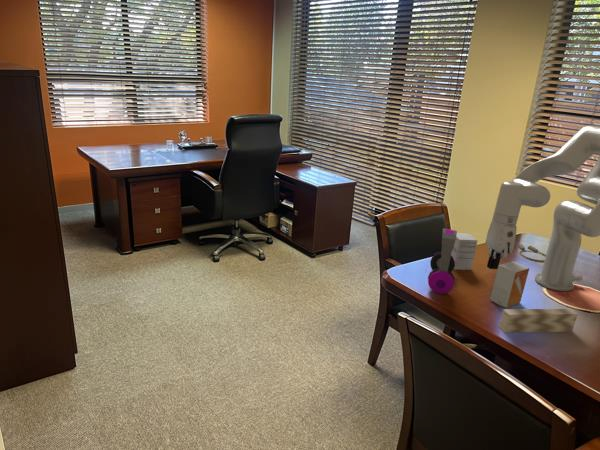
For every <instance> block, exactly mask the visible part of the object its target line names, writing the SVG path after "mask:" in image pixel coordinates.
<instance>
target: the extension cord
mask: <svg viewBox="0 0 600 450" xmlns="http://www.w3.org/2000/svg"><path fill="white" fill-rule="evenodd" d="M518 248H519V249H520V251H518V252H519V255H520V256H522V257H523V258H525V259H526V260H528V261H529V260H530V261H534V262H538V261H539V262H540V263H544V261H545V259H536V258H531V257H529V256H526V255H524V254H522V252H527V250H526V249H525V246H524V245H523V244H521V243H519V244H518ZM527 249H528V252H529V253H534V254H538V253H539V254H538V255H541V254H542V256H544V255H545V256H544V257H546V253H543V252H540V251H539V250H538V249H537V248H536V247H534V246H533V245H528V247H527Z"/></svg>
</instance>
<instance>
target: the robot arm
mask: <svg viewBox="0 0 600 450" xmlns="http://www.w3.org/2000/svg"><path fill="white" fill-rule="evenodd" d="M594 154H598V159H597V160H596V163H595V164H594V165H593V166H592V168H591V169H590V170H589V171H588V173H587V174H586V176H585V177H584V178H583V180H582V181H581V182H580V184H579V185H578V187H577V189H576V195H577V196H578V198H579V199H581V200H583V201H584V202H587V203H590V204H593V205H595V206H591V205H588V204H585V203H583V202H580V201H577V200H571V199H568V200H563V201H561V202H559V203H558V204H557V205H556V208H554V212H553V220H552V221H553V222H552V223H553V224H552V232H551V234H550V235H551V236H550V240H549V242H548V246H547V250H546V253H545V255H546V256H544V257H545V258H544V260H545V261H544V262H543V266H542V269H541V273H538V274H535V277H534V280H535V282H536V283H538V284H539V285H541V286H543V287H545V288H547V289H550V290H553V291H558V292H569V291H572V290H573V289H574V283H573V282H575V281H577V282H580V281H581V282H582V280H583V276H582V275H575V273H574V268H575V265H576V261H577V258H578V256H579V251H580V249H581V245H582V235H583V236H585V237H589V238H596V237H599V236H600V125H586V126H583V127H581V128H580V129H579V130H578V131H577V132H576V133H575V134H574V135H572V136H571V137H570V138H569V140H568V141H566V142H565V143H564V144H563V145H562V146H561V147H560V148H559V149H558V150H556V152H555V153H554V154H552V155H551V156H547V157H544V158H542V159H541V160H538V161H535V162H534V163H531V164H530V165H528V166H526V167H525V168H523V169H522V170H521V171H520V172H519V173H518V174H517V175H516V176H515V177H514V178H512V180H511V181H510V180H509V181H508V180H505V181H503V182H502V183H501V184H500V189H499V192H498V195H497V199H496V204H495V207H494V211H493V216H492V220H491V222H490V224H489V227H488V231H487V233H486V239H485V243H486V247H487V248H488V250H489V253H488V256H489V257H488V260H487V265H486V267H487V268H488V269H489V270H498V266H499V265H500V262H501V260H502V259H507V258H508V254H509V255H511V254H512V253H513V252H514V247H515V243H516V238H517V227H518V226H517V223H518V220H519V219H518V218H519V217H520V216H519V214H520V211H521V208H522V206H525V207H530V208H541V207H544V206H545V205H547V204H549V201H550V200H551V193H550V190H549V189H548V188H547V187H546V186H543V185H542V184H539V183H537V182H539V181H541V180H543V179H546V178H549V177H555V176H563V175H569V174H572V173H574V172H576V171H577V170H578V169H579V168H580V167H581V166H582V165H583V164H584V163H585V162H586V161H587V160H589V159H590V157H592V156H593V155H594Z"/></svg>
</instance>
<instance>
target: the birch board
mask: <svg viewBox="0 0 600 450" xmlns="http://www.w3.org/2000/svg"><path fill="white" fill-rule="evenodd" d="M577 318H578V313H577V312H576V311H574V310H573V309H572V308H519V309H516V308H515V309H514V308H512V309H511V308H510V309H509V308H505V309H502V312H501V317H500V322H499V325H498V327H499V328H500V330H501V331H502V332H503V333H549V332H550V333H553V332H557V333H558V332H559V333H560V332H561V333H562V332H564V333H565V332H573V330H574V326H575V323H576V320H577Z"/></svg>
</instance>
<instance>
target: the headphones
mask: <svg viewBox="0 0 600 450" xmlns="http://www.w3.org/2000/svg"><path fill="white" fill-rule="evenodd" d="M457 233H458V231H457V230H455V229H451V228H449V229H448V228H442V235H441V251H437V252H435V253H434V255H432V257H431V258H430V261H429V262H430V264H429V265H430V268H431V270H432V271H430V273H429V274H428V277H427V284H428V286H429V288H430V290H432V291H433V292H434V293H437V294H440V295H443V294H447V293H449V292H450V291H452V290H453V288H454V286H455V276H454V274H453V271H454V267H455V261H454V259H453V256H451V253H452V250H453V247H454V244H455V240H456V235H457Z"/></svg>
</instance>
